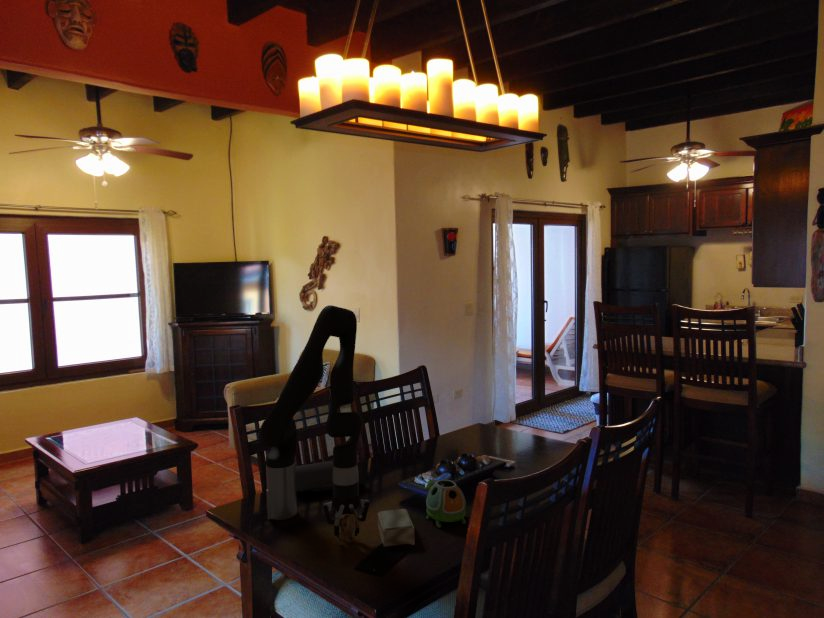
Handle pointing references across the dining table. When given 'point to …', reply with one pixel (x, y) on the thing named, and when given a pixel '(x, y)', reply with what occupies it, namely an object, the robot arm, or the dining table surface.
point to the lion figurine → (348, 526)
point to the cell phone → (382, 559)
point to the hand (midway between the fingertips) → (347, 535)
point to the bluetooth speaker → (314, 477)
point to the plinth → (395, 527)
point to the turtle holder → (445, 502)
